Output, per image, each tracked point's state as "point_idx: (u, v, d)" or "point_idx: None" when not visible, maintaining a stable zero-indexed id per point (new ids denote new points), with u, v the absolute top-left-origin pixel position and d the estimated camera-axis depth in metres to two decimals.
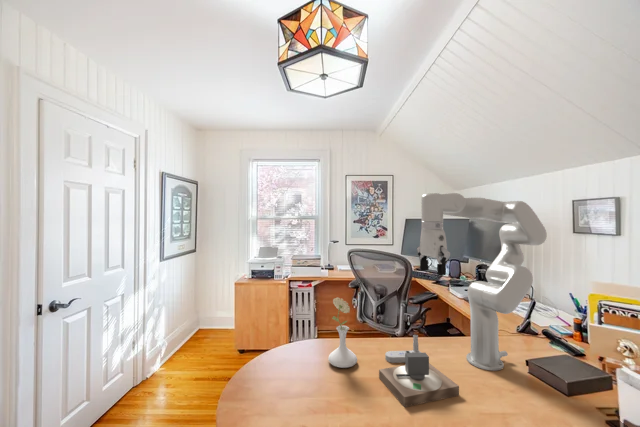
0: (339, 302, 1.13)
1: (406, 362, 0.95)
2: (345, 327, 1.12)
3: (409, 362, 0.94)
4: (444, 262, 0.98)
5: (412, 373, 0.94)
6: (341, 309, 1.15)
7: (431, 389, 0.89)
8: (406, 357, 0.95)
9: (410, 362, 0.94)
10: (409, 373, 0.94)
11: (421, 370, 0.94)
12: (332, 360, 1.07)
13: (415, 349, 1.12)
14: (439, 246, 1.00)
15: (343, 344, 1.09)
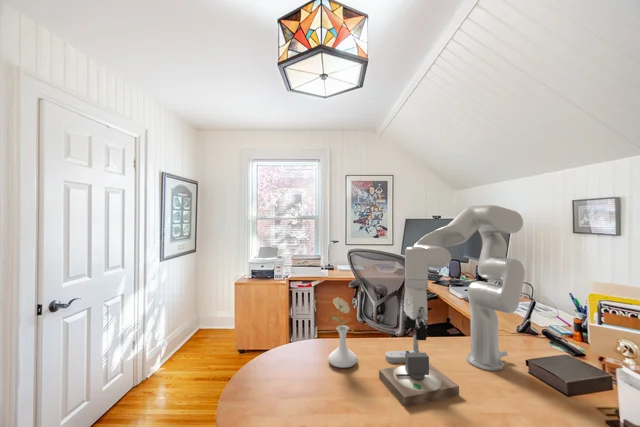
0: (339, 302, 1.13)
1: (406, 362, 0.95)
2: (345, 327, 1.12)
3: (409, 362, 0.94)
4: None
5: (412, 373, 0.94)
6: (341, 309, 1.15)
7: (431, 389, 0.89)
8: (406, 357, 0.95)
9: (410, 362, 0.94)
10: (409, 373, 0.94)
11: (421, 370, 0.94)
12: (332, 360, 1.07)
13: (415, 349, 1.12)
14: None
15: (343, 344, 1.09)
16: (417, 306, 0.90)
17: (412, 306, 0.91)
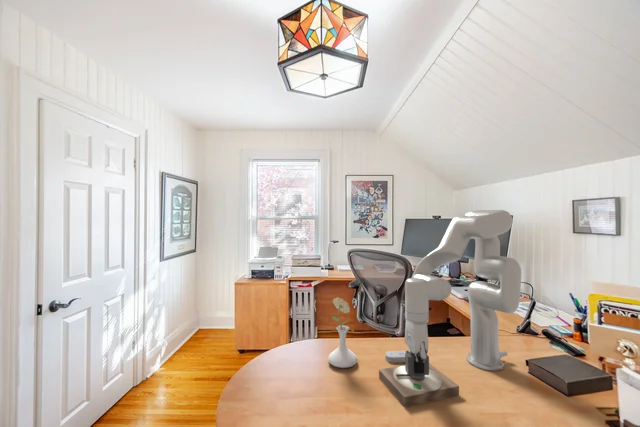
0: (339, 302, 1.13)
1: (406, 362, 0.95)
2: (345, 327, 1.12)
3: (409, 362, 0.94)
4: None
5: (412, 373, 0.94)
6: (341, 309, 1.15)
7: (431, 389, 0.89)
8: (406, 357, 0.95)
9: (410, 362, 0.94)
10: (409, 373, 0.94)
11: None
12: (332, 360, 1.07)
13: None
14: None
15: (343, 344, 1.09)
16: (418, 340, 0.90)
17: (413, 340, 0.91)
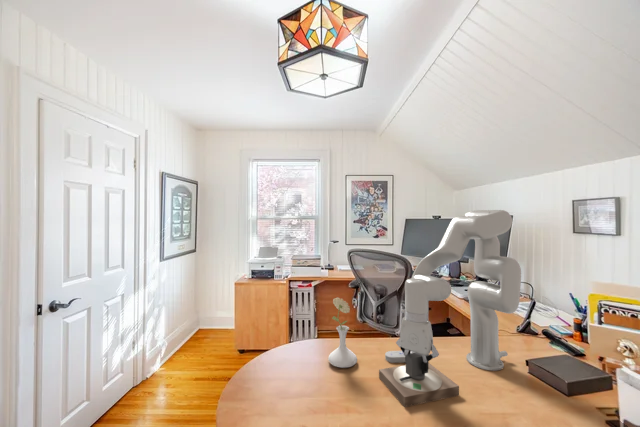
0: (339, 302, 1.13)
1: (408, 364, 0.94)
2: (345, 327, 1.12)
3: (413, 364, 0.93)
4: None
5: (415, 374, 0.93)
6: (341, 309, 1.15)
7: (431, 389, 0.89)
8: (408, 359, 0.94)
9: (414, 363, 0.93)
10: (412, 375, 0.93)
11: None
12: (332, 360, 1.07)
13: None
14: None
15: (343, 344, 1.09)
16: (430, 340, 0.91)
17: (425, 341, 0.91)
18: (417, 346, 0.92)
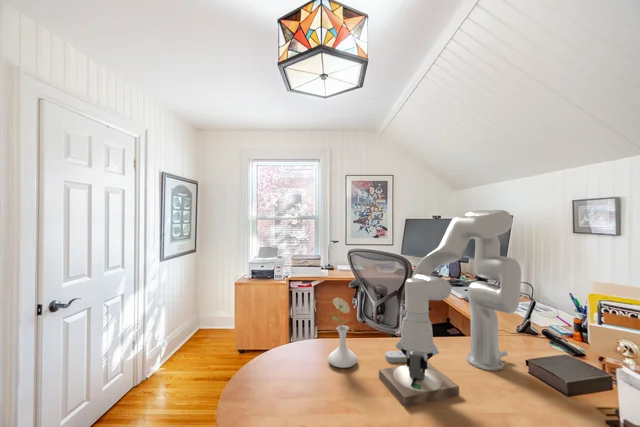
0: (339, 302, 1.13)
1: (413, 367, 0.92)
2: (345, 327, 1.12)
3: (419, 365, 0.92)
4: None
5: (420, 375, 0.93)
6: (341, 309, 1.15)
7: (431, 389, 0.89)
8: (414, 361, 0.92)
9: (419, 364, 0.92)
10: (419, 376, 0.92)
11: (422, 368, 0.95)
12: (332, 360, 1.07)
13: None
14: None
15: (343, 344, 1.09)
16: (432, 338, 0.92)
17: (429, 340, 0.92)
18: (421, 346, 0.92)
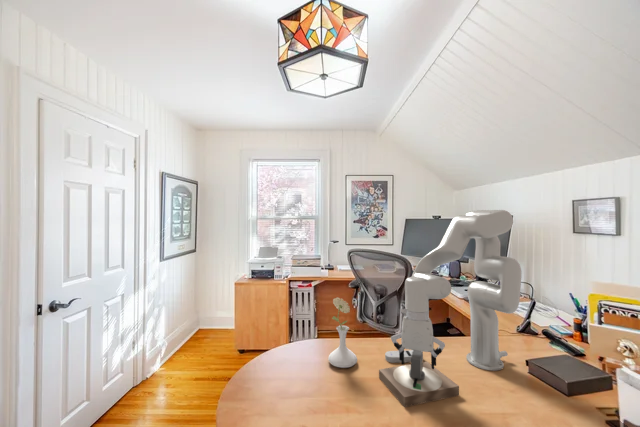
0: (339, 302, 1.13)
1: (414, 367, 0.92)
2: (345, 327, 1.12)
3: (420, 365, 0.92)
4: None
5: (420, 375, 0.93)
6: (341, 309, 1.15)
7: (431, 389, 0.89)
8: (415, 361, 0.92)
9: (420, 364, 0.92)
10: (420, 376, 0.92)
11: (421, 367, 0.95)
12: (332, 360, 1.07)
13: None
14: (402, 331, 0.98)
15: (343, 344, 1.09)
16: (433, 336, 0.93)
17: (430, 338, 0.92)
18: (421, 344, 0.92)
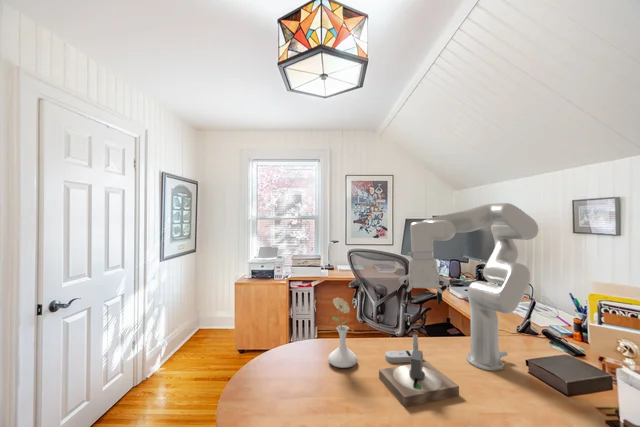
0: (339, 302, 1.13)
1: (415, 367, 0.92)
2: (345, 327, 1.12)
3: (420, 365, 0.92)
4: None
5: (421, 375, 0.93)
6: (341, 309, 1.15)
7: (431, 389, 0.89)
8: (415, 361, 0.92)
9: (420, 364, 0.92)
10: (420, 376, 0.92)
11: None
12: (332, 360, 1.07)
13: (415, 349, 1.13)
14: None
15: (343, 344, 1.09)
16: (438, 274, 0.99)
17: (435, 276, 0.98)
18: (428, 282, 0.99)
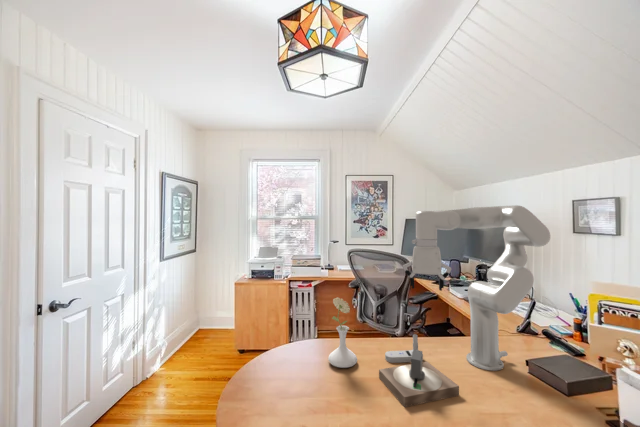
0: (339, 302, 1.13)
1: (415, 367, 0.92)
2: (345, 327, 1.12)
3: (420, 365, 0.92)
4: None
5: (421, 375, 0.93)
6: (341, 309, 1.15)
7: (431, 389, 0.89)
8: (415, 361, 0.92)
9: (420, 364, 0.92)
10: (420, 376, 0.92)
11: None
12: (332, 360, 1.07)
13: (415, 349, 1.13)
14: None
15: (343, 344, 1.09)
16: None
17: (438, 262, 1.02)
18: (430, 268, 1.03)
